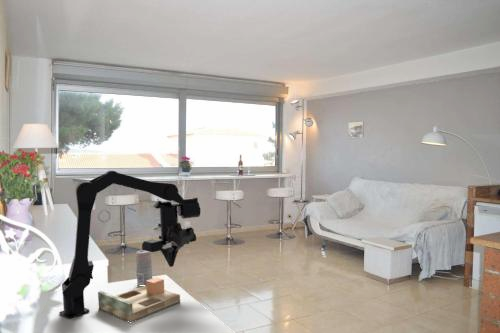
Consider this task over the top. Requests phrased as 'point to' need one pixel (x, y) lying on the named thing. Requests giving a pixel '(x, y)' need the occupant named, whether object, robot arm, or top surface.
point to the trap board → (136, 303)
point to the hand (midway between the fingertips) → (171, 266)
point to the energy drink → (143, 266)
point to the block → (155, 286)
